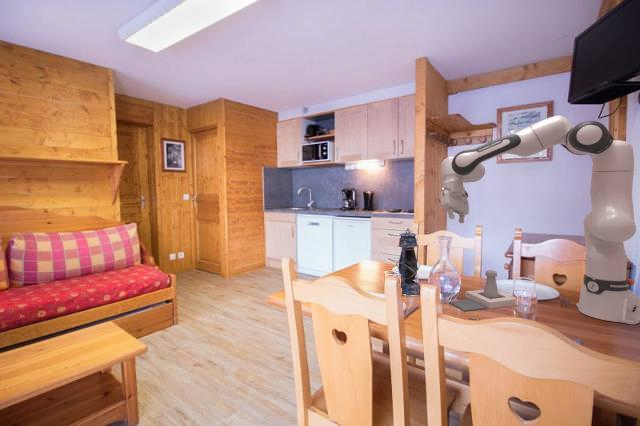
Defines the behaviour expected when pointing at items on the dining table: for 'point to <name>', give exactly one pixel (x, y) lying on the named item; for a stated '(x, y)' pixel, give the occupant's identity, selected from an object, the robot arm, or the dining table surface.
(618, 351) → the dining table surface
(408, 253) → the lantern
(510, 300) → the socket block
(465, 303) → the rubber pad
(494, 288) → the salt shaker
